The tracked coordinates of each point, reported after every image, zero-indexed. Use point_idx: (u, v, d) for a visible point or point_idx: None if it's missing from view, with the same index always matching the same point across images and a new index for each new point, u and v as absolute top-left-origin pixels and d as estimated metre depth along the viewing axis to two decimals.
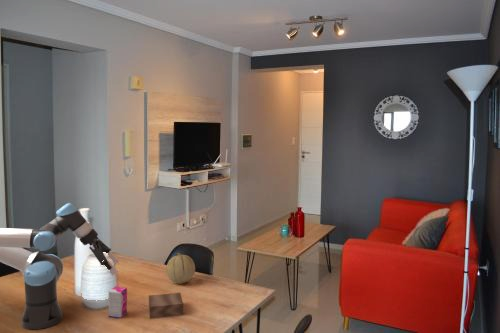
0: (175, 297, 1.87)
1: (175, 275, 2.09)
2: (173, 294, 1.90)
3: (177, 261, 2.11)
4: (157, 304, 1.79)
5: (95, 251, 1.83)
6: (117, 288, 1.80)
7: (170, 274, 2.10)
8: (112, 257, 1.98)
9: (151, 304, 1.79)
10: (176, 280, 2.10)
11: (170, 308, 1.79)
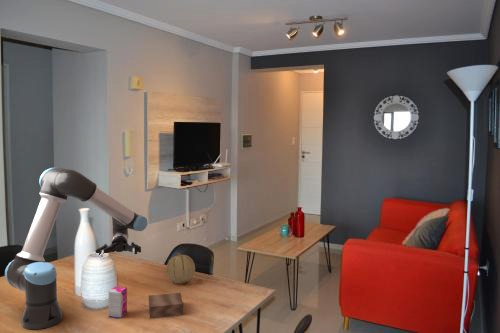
0: (175, 297, 1.87)
1: (175, 275, 2.09)
2: (173, 294, 1.90)
3: (177, 261, 2.11)
4: (157, 304, 1.79)
5: None
6: (117, 288, 1.80)
7: (170, 274, 2.10)
8: None
9: (151, 304, 1.79)
10: (176, 280, 2.10)
11: (170, 308, 1.79)
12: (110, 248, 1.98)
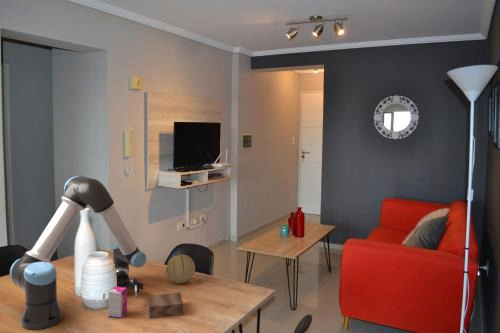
0: (175, 297, 1.87)
1: (175, 275, 2.09)
2: (173, 294, 1.90)
3: (177, 261, 2.11)
4: (157, 304, 1.79)
5: None
6: (117, 288, 1.80)
7: (170, 274, 2.10)
8: None
9: (151, 304, 1.79)
10: (176, 280, 2.10)
11: (170, 308, 1.79)
12: None
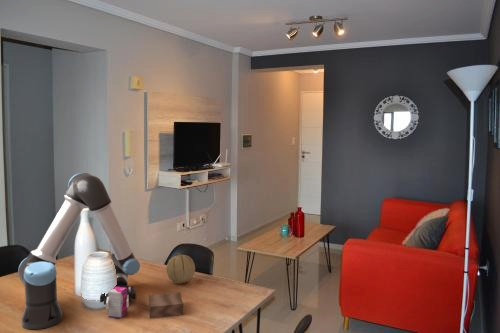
0: (175, 297, 1.87)
1: (175, 275, 2.09)
2: (173, 294, 1.90)
3: (177, 261, 2.11)
4: (157, 304, 1.79)
5: None
6: (117, 288, 1.80)
7: (170, 274, 2.10)
8: (108, 303, 1.77)
9: (151, 304, 1.79)
10: (176, 280, 2.10)
11: (170, 308, 1.79)
12: None
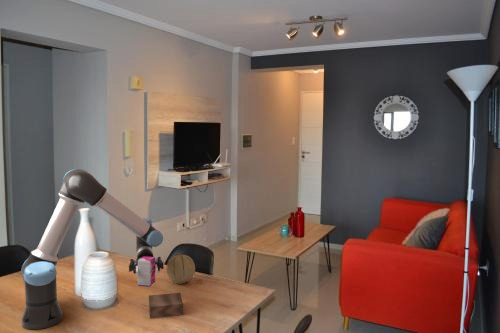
0: (175, 297, 1.87)
1: (175, 275, 2.09)
2: (173, 294, 1.90)
3: (177, 261, 2.11)
4: (157, 304, 1.79)
5: None
6: (145, 257, 1.82)
7: (170, 274, 2.10)
8: None
9: (151, 304, 1.79)
10: (176, 280, 2.10)
11: (170, 308, 1.79)
12: None
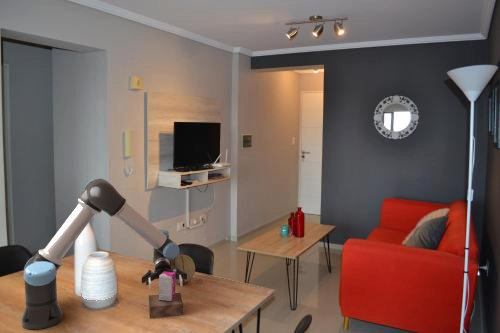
0: (175, 297, 1.87)
1: None
2: None
3: (177, 261, 2.11)
4: (157, 304, 1.79)
5: None
6: (166, 273, 1.85)
7: None
8: None
9: (151, 304, 1.79)
10: (176, 280, 2.10)
11: (170, 308, 1.79)
12: (155, 275, 1.90)
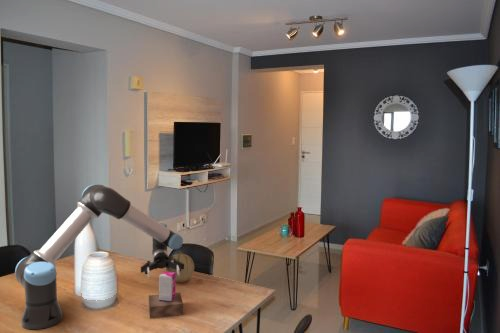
0: (175, 297, 1.87)
1: None
2: None
3: None
4: (157, 304, 1.79)
5: None
6: (166, 273, 1.85)
7: (166, 271, 2.14)
8: None
9: (151, 304, 1.79)
10: None
11: (170, 308, 1.79)
12: (154, 265, 2.02)
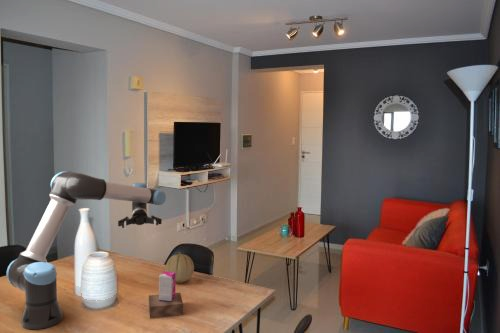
0: (175, 297, 1.87)
1: None
2: None
3: (172, 260, 2.13)
4: (157, 304, 1.79)
5: None
6: (166, 273, 1.85)
7: None
8: None
9: (151, 304, 1.79)
10: None
11: (170, 308, 1.79)
12: (132, 220, 2.05)
